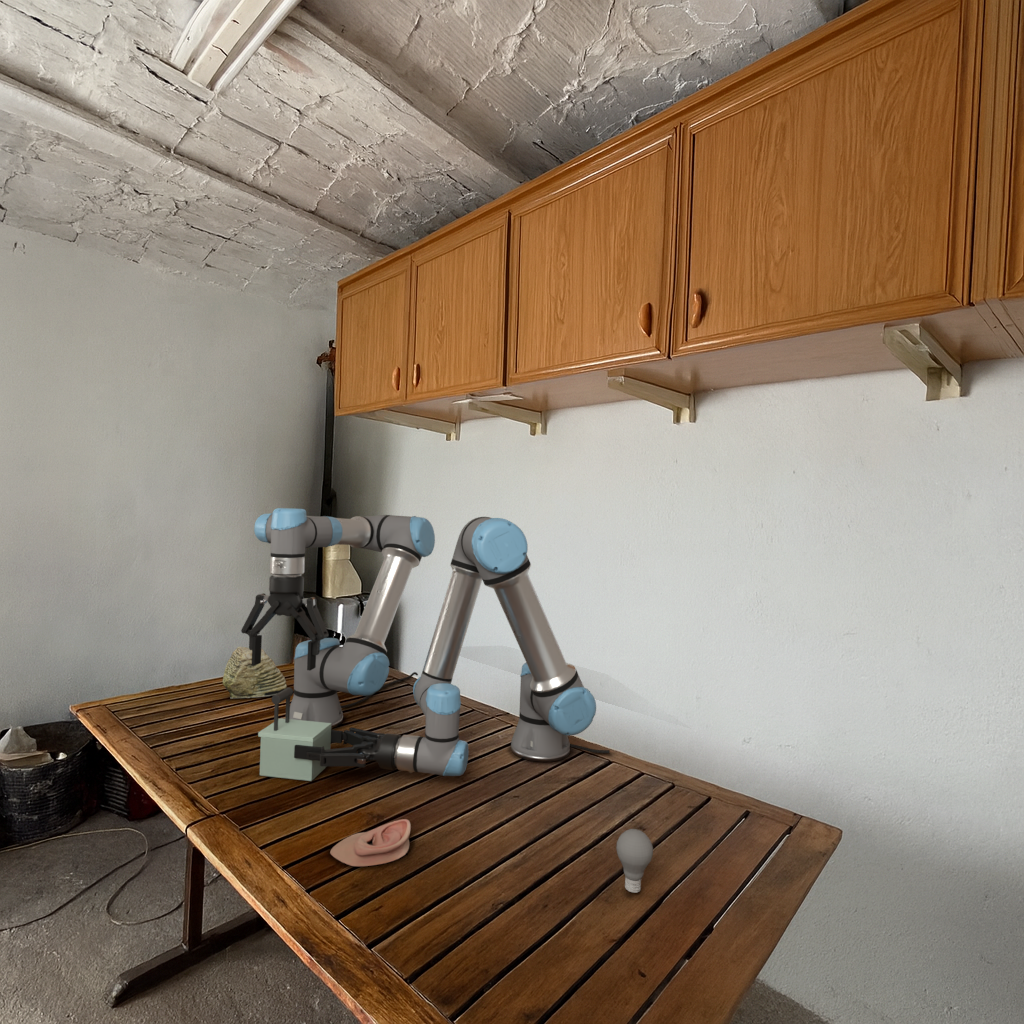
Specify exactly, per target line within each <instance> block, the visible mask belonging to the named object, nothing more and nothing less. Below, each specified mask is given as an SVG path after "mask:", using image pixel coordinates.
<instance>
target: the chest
mask: <svg viewBox="0 0 1024 1024" xmlns="http://www.w3.org/2000/svg"><path fill="white" fill-rule="evenodd" d="M331 730H332V729H331V728H330V729H328V730H327V731H326V732H325V733H323V734H322V735H321V736H320V737H319V738H317V739H316V740H315V741H314V742H307V741H297V740H287V739H277V738H267V737H260V749H259V751H260V753H259V776H261V777H269V778H279V779H280V778H281V779H287V780H288V779H289V780H296V781H297V780H298V781H306V782H307V781H308V782H312V781H313V780H315V779H316V778H317V776H319V775H320V774H321V773H322V772H324V770H325V769H326V768H327V767H328V766H320V761H318V760H309V759H299V758H294V747H295V745H304V746H314V747H323V746H324V750H326V749H331V746H332V745H331V743H332V742H331Z"/></svg>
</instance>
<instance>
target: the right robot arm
mask: <svg viewBox="0 0 1024 1024" xmlns="http://www.w3.org/2000/svg"><path fill="white" fill-rule="evenodd" d="M528 547H529V546H528V541H527V537H526V535H525V534H524V531H523V530H522V528H520V527H519V526H518V525H517V524H515V523H514V522H512V521H510V520H508V519H505V518H502V517H490V516H477V517H474V518H473V519H471V520H469V521H468V522H467V523H466V524H465V525H464V526H463V527H462V529H461V530H460V533H459V535H458V537H457V542H456V544H455V548H454V551H453V555H452V558H451V561H450V565H449V566H450V568H451V570H452V573H451V575H450V580H449V583H448V585H447V589H446V592H445V594H444V595H445V596H444V599H443V603H442V605H441V609H440V612H439V615H438V618H437V622H436V625H435V628H434V632H433V635H432V639H431V641H430V645H429V648H428V650H427V651H428V652H427V655H426V658H425V661H424V665H423V667H422V672H421V674H420V676H419V677H418V678H417V679H416V680H415V682H414V684H413V686H412V694H413V698H414V701H415V702H416V704H417V706H419V708H420V710H421V712H422V713H423V715H424V717H425V729H424V736H420V735H411V734H403V735H401V734H397V733H388V732H387V733H384V732H383V733H382V732H374V731H370V730H366V729H360V728H357V727H356V728H355V727H349V728H348V729H345V730H337V729H331V743H333V744H342V745H343V746H344V745H347V744H348V745H351V746H350V747H349V746H348V747H338V748H337V747H336V748H330V749H326V750H324V746H323V747H314V746H304V745H295V747H294V758H299V759H309V760H318V761H320V766H327V767H356V768H366V767H367V762H368V763H369V762H377V764H378V767H379V768H380V769H383V770H390V771H396V770H398V771H402V772H408V773H409V774H412V773H422V774H429V775H430V774H431V775H437V776H442V777H460V776H463V775H464V773H465V772H466V770H467V766H468V763H469V753H470V751H469V743H468V742H467V741H466V740H462V739H460V717H461V706H462V700H461V690H460V688H459V687H458V686H457V685H455V684H452V681H453V677H454V674H455V671H456V668H457V664H458V661H459V657H460V655H461V651H462V648H463V644H464V641H465V638H466V635H467V632H468V628H469V625H470V622H471V618H472V615H473V612H474V610H475V609H474V608H475V605H476V603H477V598H478V595H479V592H480V589H481V586H482V583H483V585H484V586H485V587H488V588H491V589H493V591H494V593H495V596H496V597H497V600H498V602H499V604H500V607H501V608H502V611H503V613H504V615H505V618H506V620H507V623H508V625H509V626H510V629H511V631H512V633H513V636H514V638H515V641H516V642H517V645H518V648H519V649H520V651H521V653H522V656H523V658H524V660H525V663H523V664H522V665H521V672H520V676H519V677H520V691H519V713H518V715H519V717H518V722H517V724H516V727H515V729H514V732H513V734H512V735H513V736H512V737H511V742H510V750H511V753H512V754H514V755H515V756H516V757H517V758H519V759H523V760H526V761H530V762H535V763H536V762H537V763H553V762H558V761H563V760H565V759H566V758H568V757H569V756H570V754H571V748H573V749H577V750H582V751H585V752H588V753H593V754H610V751H611V750H609V749H594V748H590V747H585V746H582V745H577V744H573V743H571V742H570V739H569V737H570V736H576V735H578V734H581V733H583V732H584V731H585V730H587V729H588V728H589V727H590V726H591V724H592V723H593V721H594V718H595V716H596V713H597V701H596V698H595V697H594V695H593V694H592V693H591V691H590V690H589V689H588V688H586V687H585V686H584V684H583V682H582V680H581V677H580V675H579V673H578V670H577V668H576V666H575V665H574V664H572V663H569V662H567V661H566V659H565V657H564V654H563V652H562V649H561V648H560V645H559V643H558V640H557V638H556V635H555V634H554V631H553V629H552V627H551V624H550V622H549V620H548V617H547V615H546V612H545V610H544V608H543V606H542V603H541V601H540V598H539V596H538V594H537V591H536V590H535V587H534V585H533V582H532V580H531V577H530V575H529V571H530V569H531V567H532V563H531V561H530V559H529V557H528V550H529V549H528Z"/></svg>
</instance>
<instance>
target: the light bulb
mask: <svg viewBox="0 0 1024 1024" xmlns="http://www.w3.org/2000/svg"><path fill="white" fill-rule="evenodd" d="M615 849H616V854H617V857H618V859H619V861H620V863H621V865H622V867H623V873H624V874H623V875H624V876H625V878H624V888H625V890H627V891H628V892H630V893H634V894H635V893H639V892H640V891H641V889H642V887H641V886H642V879H643V877H644V875H645V871H646V868H647V867H648V866H649V864H650V863H651V861H652V859H653V855H654V847H653V843H652V841H651V838H649V836H648V835H647V834H646V833H645V832H643V831H642V830H641V829H636V828H629V829H627V830H625V831H623V832H622V833H621V834H620V835H619V837H618V839H617V841H616V847H615Z"/></svg>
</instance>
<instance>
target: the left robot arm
mask: <svg viewBox="0 0 1024 1024" xmlns="http://www.w3.org/2000/svg"><path fill="white" fill-rule="evenodd" d="M253 529H254V530H253V532H254V535H255V538H257V540H259V541H260V542H262V543H267V544H270V555H269V556H270V559H269V573H270V576H269V582H268V591H269V594H266V593H263V592H262V593H259V594H257V595H255V601H254V605H253V606H252V608H251V610H250V613H249V614H248V617H246V619H245V621H244V623H243V626H242V628H241V629H240V632H241V633H242V634H244V635H245V634H246V635H247V636H248V637H249V638H248V640H249V641H248V645H249V646H248V648H249V649H250V650H252V666H255V665H257V664H259V663H261V649H262V642H263V641H262V640H263V635H262V634H260V633H261V632H262V630H263V629H264V628H265V627H266V626H267V625H268V623H269V622H270V621H272V619H273V618H274V617H275V616H279V617H280V616H285V617H293V618H294V619H295V620H296V621H297V622H298V623H299V625H300V626H301V628H302V629H303V630H304V632H305V634H306V635H307V636H308V638H309V639H308V640H304V641H302V642H299V643H298V644H297V645H296V647H295V652H294V653H295V654H294V657H293V662H294V663H293V665H294V666H293V695H292V696H293V697H292V699H291V701H290V717H289V719H293V720H303V721H314V722H324V723H331V730H334V729H335V728H337V727H339V726H340V725H342V723H343V722H344V714H343V709H345V708H349V707H353V706H356V705H358V704H360V703H363V702H364V701H367V700H368V699H369V698H370V697H372V696H374V695H375V694H376V693H377V692H379V691H381V690H382V689H385V688H386V687H389V686H391V685H394V684H396V683H399V682H403V681H405V680H409V679H411V678H412V677H413V676H419V674H418V672H416V671H414V672H412V673H411V674H409V675H408V676H405V677H402V678H399V679H395V680H393V681H390V682H388V683H386V681H387V679H388V677H389V674H390V667H389V666H390V660H389V658H388V656H387V653H388V649H387V647H386V645H385V642H386V640H387V638H388V635H389V633H390V630H391V627H392V624H393V622H394V619H395V616H396V613H397V610H398V608H399V605H400V603H401V599H402V597H403V594H404V591H405V589H406V587H407V583H408V581H409V578H410V575H411V573H412V571H413V569H414V568H416V567H419V566H420V563H421V561H422V558H426V557H429V556H430V555H432V553H433V552H434V549H435V544H436V536H435V535H436V534H435V530H434V527H433V524H432V523H431V522H430V521H429V519H428V518H426V517H421V516H417V515H412V516H407V515H394V514H393V515H392V514H376V515H364V516H362V515H361V516H360V515H357V516H353V517H351V518H343V517H333V516H328V515H327V516H326V515H323V516H317V515H315V516H314V515H307V511H306V509H304V508H297V507H296V508H294V507H293V508H291V507H277V508H275V509H274V510H273V511H272V512H271V513H262V514H261V515H259V516H258V517H257V518H256V520H255V522H254V527H253ZM336 545H339V546H340V545H341V546H343V545H344V546H346V545H347V546H350V547H352V548H353V549H363V550H368V551H372V552H377V553H378V552H379V553H381V554H382V556H383V560H382V564H381V566H380V569H379V572H378V574H377V577H376V579H375V581H374V583H373V586H372V589H371V591H370V594H369V597H368V599H367V601H366V604H365V606H364V608H363V611H362V614H361V617H360V618H359V622H358V624H357V627H356V629H355V632H354V633H353V634H351V635H350V636H347V637H346V638H345V642H344V643H343V645H342V646H341V645H340V644H341V643H340V640H339V638H335V637H329V631H328V629H327V627H326V625H325V622H324V620H323V618H322V615H321V613H320V610H319V608H318V604H317V602H318V601H317V597H315V596H311V597H304V591H305V590H304V586H305V577H304V573H305V562H306V561H305V556H306V549H308V548H309V549H310V548H311V549H312V548H328V547H333V546H336ZM267 603H268V605H269V606H270V607H269V608H268V609H267V610H266V611H265V614H264V615H263V616H262V617H261V618H260V619H259V620H258V618H259V617H260V615H261V613H262V611H263V609H264V607H265V605H266V604H267ZM303 606H305V607H306V608H307V612H308V615H309V617H310V619H309V617H308V616H307V614H306V611H305V610H304V608H303ZM257 620H258V621H257ZM256 622H257V623H256ZM338 692H341V693H345V694H350V695H353V696H362V697H363V698H362V699H359V700H357V701H355V702H352V703H348V704H344V705H341V702H340V699H339V695H338Z"/></svg>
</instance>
